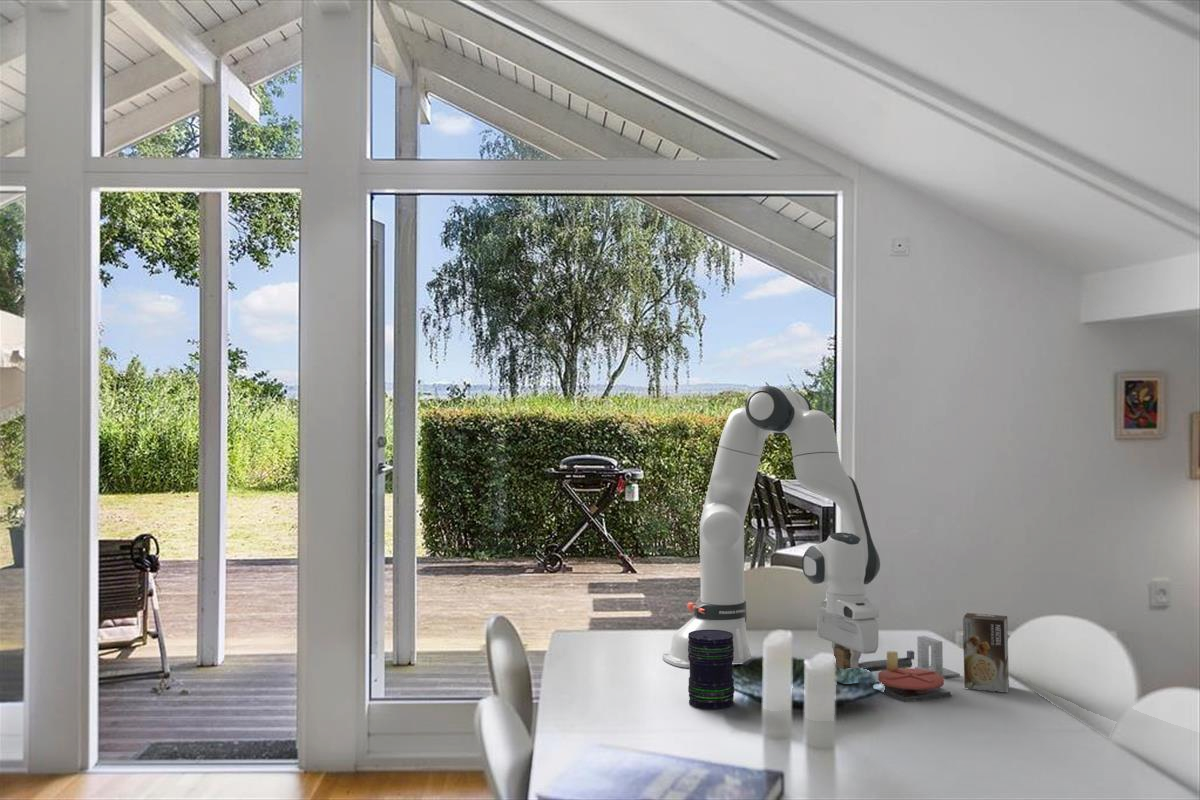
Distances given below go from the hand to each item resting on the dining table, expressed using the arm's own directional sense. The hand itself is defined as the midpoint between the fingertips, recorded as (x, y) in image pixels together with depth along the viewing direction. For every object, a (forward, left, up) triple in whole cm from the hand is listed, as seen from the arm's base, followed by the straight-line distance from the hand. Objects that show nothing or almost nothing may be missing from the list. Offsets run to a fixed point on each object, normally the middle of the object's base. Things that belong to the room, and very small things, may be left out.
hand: (846, 665), depth 250 cm
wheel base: (+9, -12, -4) cm, 15 cm away
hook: (+8, 0, -4) cm, 9 cm away
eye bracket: (+25, 0, -4) cm, 25 cm away
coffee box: (+27, -15, -4) cm, 31 cm away
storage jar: (-36, -4, -4) cm, 37 cm away
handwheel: (+9, -12, -3) cm, 15 cm away
